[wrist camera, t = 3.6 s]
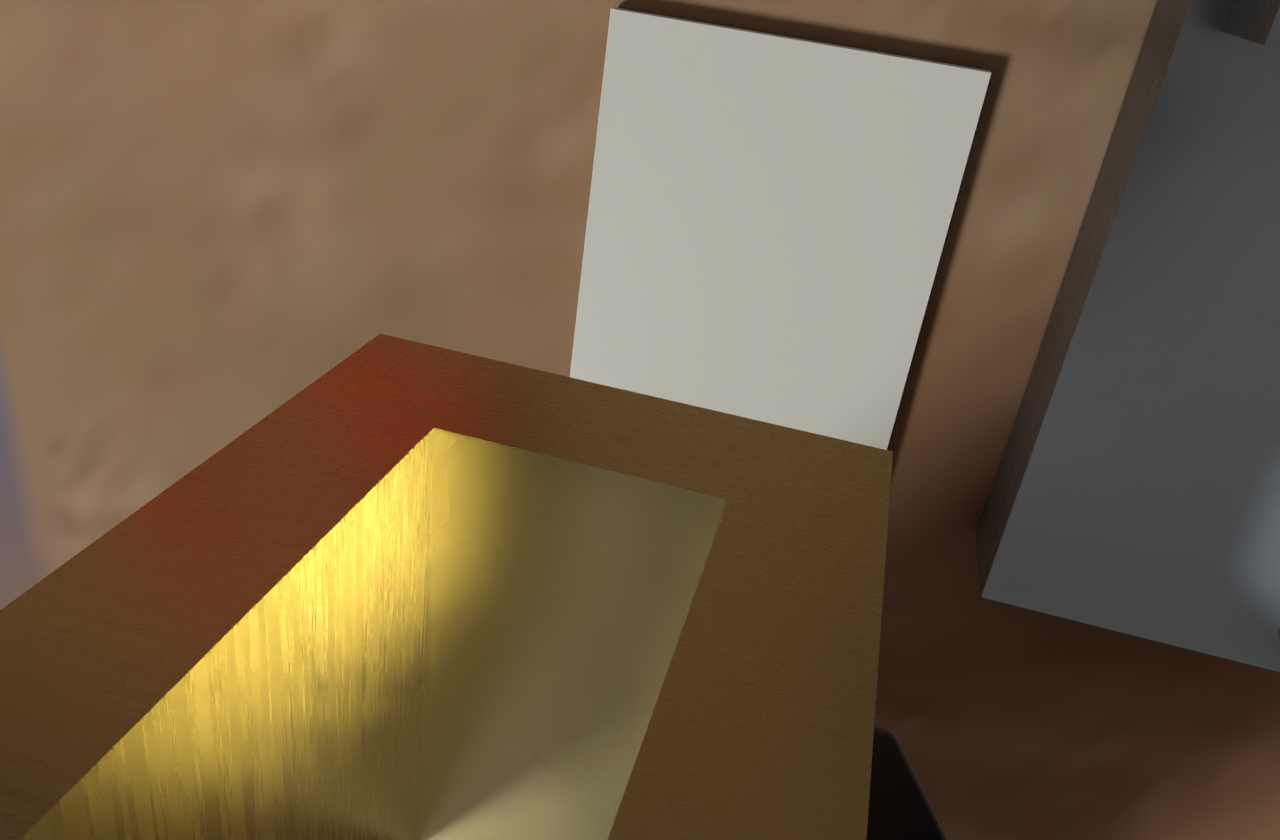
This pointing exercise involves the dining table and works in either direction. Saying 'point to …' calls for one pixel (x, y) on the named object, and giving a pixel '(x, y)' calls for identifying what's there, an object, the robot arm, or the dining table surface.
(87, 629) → the bracket
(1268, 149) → the rack flange
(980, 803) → the dining table surface
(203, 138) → the dining table surface
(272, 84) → the dining table surface
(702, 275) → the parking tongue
